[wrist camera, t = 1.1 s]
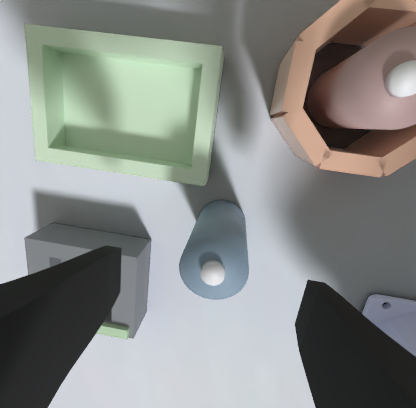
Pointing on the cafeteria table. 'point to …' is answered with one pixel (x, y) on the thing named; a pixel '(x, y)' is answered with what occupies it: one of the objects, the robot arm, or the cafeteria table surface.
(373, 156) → the cup
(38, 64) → the trough
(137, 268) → the grey button box
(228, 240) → the cell
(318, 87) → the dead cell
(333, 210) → the cafeteria table surface
